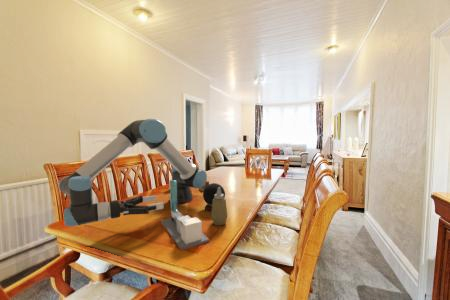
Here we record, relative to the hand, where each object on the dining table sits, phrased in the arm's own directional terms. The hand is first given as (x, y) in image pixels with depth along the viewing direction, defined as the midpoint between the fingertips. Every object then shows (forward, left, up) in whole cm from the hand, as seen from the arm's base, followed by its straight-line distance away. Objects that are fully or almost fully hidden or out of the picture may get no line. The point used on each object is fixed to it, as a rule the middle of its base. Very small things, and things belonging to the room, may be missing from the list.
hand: (159, 201), depth 101 cm
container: (-49, +47, -12) cm, 69 cm away
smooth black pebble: (+5, +33, -12) cm, 36 cm away
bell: (-28, +61, -12) cm, 68 cm away
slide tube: (+8, +5, -10) cm, 14 cm away
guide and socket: (+14, +2, -12) cm, 19 cm away
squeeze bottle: (+21, +19, -12) cm, 31 cm away
